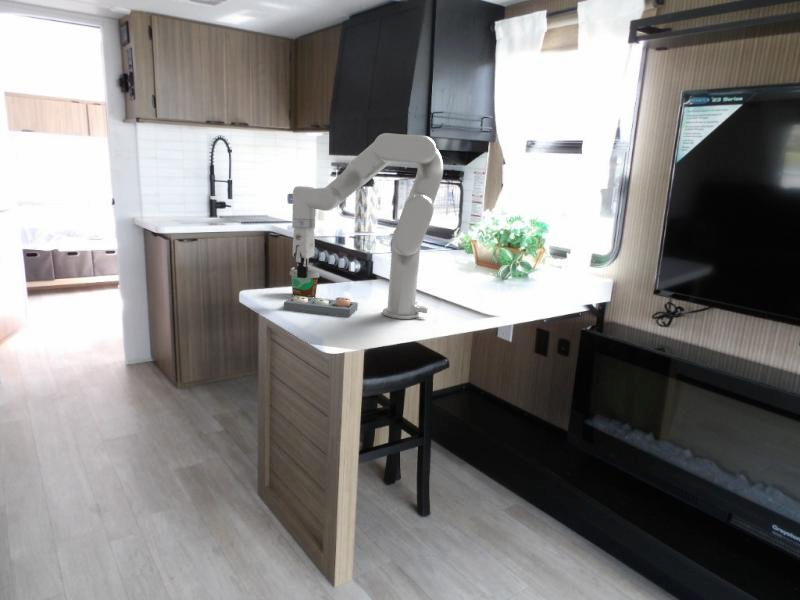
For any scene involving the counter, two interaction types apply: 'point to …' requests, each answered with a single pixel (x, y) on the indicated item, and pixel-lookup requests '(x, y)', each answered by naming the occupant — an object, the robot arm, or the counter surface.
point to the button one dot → (321, 301)
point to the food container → (304, 284)
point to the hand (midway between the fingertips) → (302, 277)
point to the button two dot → (300, 299)
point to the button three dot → (342, 302)
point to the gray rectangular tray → (320, 307)
